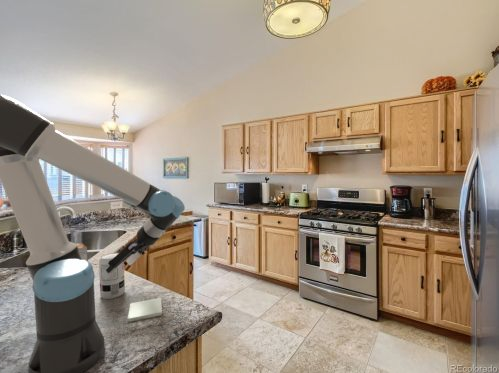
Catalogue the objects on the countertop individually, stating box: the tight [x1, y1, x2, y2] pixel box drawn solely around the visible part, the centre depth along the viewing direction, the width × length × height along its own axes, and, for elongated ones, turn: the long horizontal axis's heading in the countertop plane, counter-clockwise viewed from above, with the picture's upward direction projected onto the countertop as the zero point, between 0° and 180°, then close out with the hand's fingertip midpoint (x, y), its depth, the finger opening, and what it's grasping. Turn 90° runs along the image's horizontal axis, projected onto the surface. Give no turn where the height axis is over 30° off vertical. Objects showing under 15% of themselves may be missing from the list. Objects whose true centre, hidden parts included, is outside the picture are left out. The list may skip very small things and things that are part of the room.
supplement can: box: [98, 252, 126, 300], centre depth 95 cm, size 8×8×15 cm
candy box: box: [76, 242, 89, 262], centre depth 109 cm, size 9×4×15 cm, turn 45°
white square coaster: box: [127, 297, 163, 322], centre depth 83 cm, size 10×10×1 cm
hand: (117, 269), depth 95 cm, fingers open, 13 cm apart
